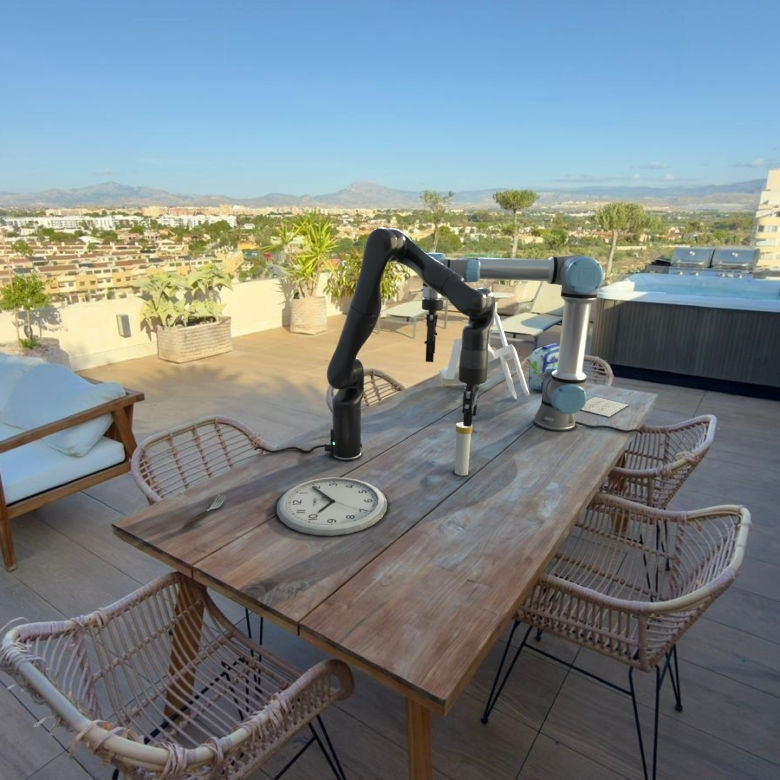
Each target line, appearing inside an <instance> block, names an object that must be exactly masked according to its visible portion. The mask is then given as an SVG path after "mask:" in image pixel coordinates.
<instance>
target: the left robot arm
mask: <svg viewBox="0 0 780 780" xmlns="http://www.w3.org/2000/svg"><path fill="white" fill-rule="evenodd" d="M427 253H428V252H427ZM427 253H426V252H425V251H424V249H422V248H421V247H419V246H418V245H417V244H416V243H415V242H414V241H413V240H411V238H410V237H408V236H407V235H406V234H405V233H404V232H402V230H400V229H398V228H394V227H377V228H374V229H373V230H372V231H371V232H370V233H369V235H368V237H367V239H366V243H365V245H364V250H363V255H362V260H361V266H360V270H359V274H358V278H357V281H356V284H355V288H354V291H353V295H352V298H351V300H350V304H349V307H348V310H347V313H346V317H345V321H344V324H343V327H342V330H341V333H340V336H339V339H338V342H337V345H336V347H335V349H334V352H333V354H332V356H331V359H330V361H329V363H328V366H327V369H326V380H327V382H328V384H329V386H330V387H331V388H332V389H335V390H337V392H336V393H335V395H334V396H333V397H332V399H331V407H332V409H331V410H332V412H331V413H332V415H331V416H332V428H330V430H329V431H330V433H329V435H330V439H329V440H328V441H327V442H325V444H318V445H315V446H313V447H312V448H311V449H308V450H305V449H303V448H300V447H297V446H288V447H284V448H280V449H276V450H270V449H267V448H265V447H264V446H256V447H254V448H253V451H257V450H262V451H264V452H267V453H269V454H270V453H271V454H276V453H280V452H281V453H282V452H284V451H288V450H297V451H300V452H302V453H306V454H309V453H312V452H313V451H314V450H316V449H320V448H324V452H327V453H328V452H329V453H330V457H332V458H334V459H336V460H338V461H347V462H348V461H354V460H357V459H359V458H360V457H361V456H362V449H363V444H362V427H361V426H362V400H363V398H364V389H365V370H364V369H365V368H364V365H363V363H362V362H361V360H360V359H359V358H358V357H357V356H358V354H359V352H360V350H361V349H362V348H363V346H364V345H365V343H366V342H367V341H368V339H369V338H370V336H371V334H373V332H374V330H375V328H376V326H377V323H378V321H379V318H380V315H381V311H382V306H383V300H382V299H383V298H382V291H381V284H382V279H383V275H384V273H385V270H386V267H387V265H388V263H394V262H396V263H397V264H401V265H403V266H405V267H406V268H409V269H411V270H412V271H413V272H414V273H415V274H416V275H417V276H418V277H419V278H420V280H421V281H422V283H423V282H424V283H425V284H426V285H427V286H429V287H430V288H431V289H433V290H434V291H436V292H437V293H439V294H440V295H442V296H443V298H445V299H446V300H448V302H449V303H450V305H452V306H453V307H454V308H455V309H456V310H457V311H458V312H460V313H461V314H462V315H463V316H465V317H468V322H467V323H466V325H464V327H463V328H462V332H461V339H462V343H461V352H460V361H459V380H460V381H461V382H463V383H462V384H466V385H465V386H464V388H463V391H462V392H463V393H462V394H463V396H462V397H463V398H462V409H461V412H462V414H463V421H462V422H463V425H464V426H468V427H471V425H473V417H476V415H477V410H478V409H477V408H478V403H479V398H480V392H481V386H480V385H482V384H485V383H486V382H487V379H488V374H487V367H488V344H489V339H490V330H491V327H492V323H493V319H494V311H496V310H495V309H496V298H495V295H494V293H493V292H492V291H491V290H490V289H489V288H487V287H479V288H473V287H471V286H470V285H468V284H467V283H466V282H465V280H464V278H463V277H462V276H460V275H459V274H457V273H456V272H454V271H453V270H451V269H450V268H448V267H446V266H445V265H443V264H441V263H440V262H438V261H437V260H435V259H434V258H432V257H431V256H429V255H428V254H427ZM467 406H468V407H467Z"/></svg>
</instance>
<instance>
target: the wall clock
mask: <svg viewBox="0 0 780 780" xmlns="http://www.w3.org/2000/svg"><path fill="white" fill-rule="evenodd" d="M387 509H388V500H387V498H386V496H385V494H384V493H383V492H382V491H381V490H380V489H379V488H377V487H376V486H374V485H372V484H371V483H369V482H365V481H362V480H359V479H355V478H349V477H338V476H337V477H335V476H333V477H332V476H331V477H322V478H317V479H312V480H307V481H305V482H302V483H299V484H297V485H295V486H293V487H292V488H290V489H288V490H287V491H286V492H285V493H284V494H283V495H281V496H280V498H279V499H278V502H277V503H276V515H277V517H278V518H279V520H280V521H281V522H282V523H283V524H285V525H286V526H287V527H288V528H290V529H293V530H295V531H297V532H299V533H303V534H308V535H312V536H327V537H328V536H329V537H331V536H332V537H333V536H342V535H350V534H352V533H356V532H361V531H363V530H366V529H368V528H369V527H372V526H373V525H375V524H376V523H378V522H379V521H380V520H381V519H382V518H383V517H384V516H385V514H386V512H387Z"/></svg>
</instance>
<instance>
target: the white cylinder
mask: <svg viewBox="0 0 780 780" xmlns="http://www.w3.org/2000/svg"><path fill="white" fill-rule="evenodd" d="M471 436H472V433H469V434H461V433H458V432H456V441H455V442H456V443H455V459H454V474H455V475H457V476H460V477H461V476H462V477H463V476H468V475H469V468H470V467H469V466H470V452H471V439H472V438H471Z"/></svg>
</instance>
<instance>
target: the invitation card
mask: <svg viewBox="0 0 780 780" xmlns="http://www.w3.org/2000/svg"><path fill="white" fill-rule="evenodd" d="M628 406H629V404H627V403H623V402H618V401H614V400H609V399H605V398H601V397H596V396H593V397H592V398H590V399H587V401H586V404H585V406H584V407H583V408H582V409H581V410H580V411H584V412H587V413H593V414H596V415H600V416H604V417H608V418H609V417H611V416H613V415H614V414H616V413H617V412H619V411H621V410H623V409H624V408H626V407H628Z"/></svg>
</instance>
